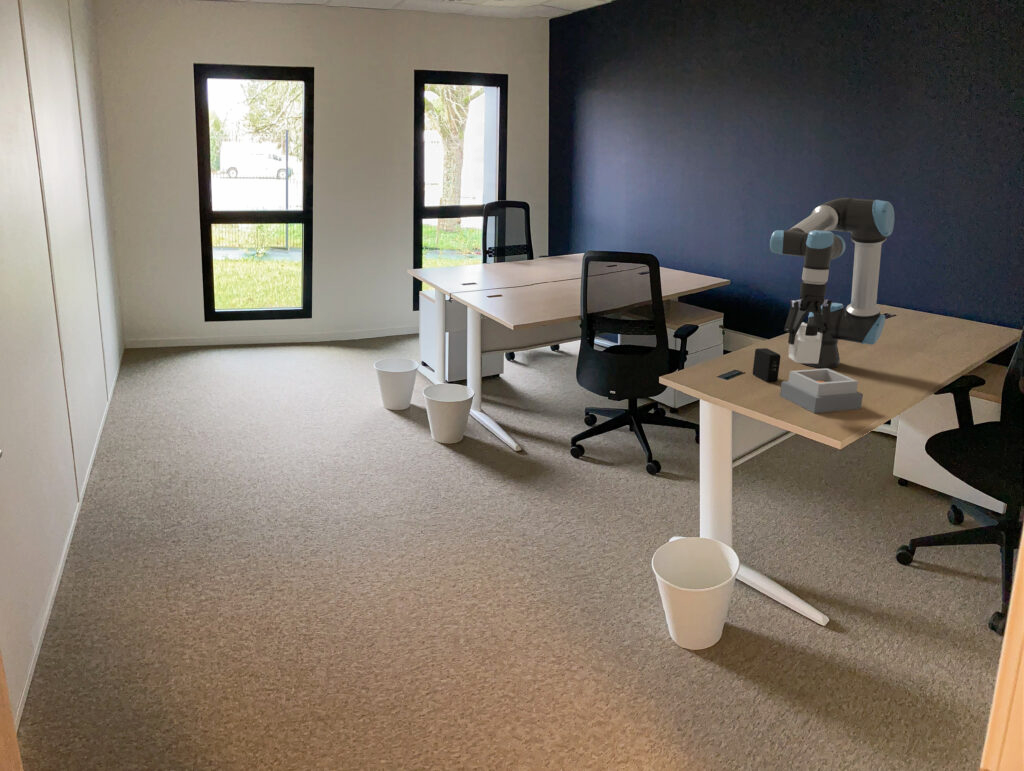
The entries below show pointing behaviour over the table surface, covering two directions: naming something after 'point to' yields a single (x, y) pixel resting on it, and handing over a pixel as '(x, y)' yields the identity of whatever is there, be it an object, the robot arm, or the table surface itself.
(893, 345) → the table surface
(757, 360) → the electronic device
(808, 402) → the grey open box
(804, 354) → the medicine bottle
